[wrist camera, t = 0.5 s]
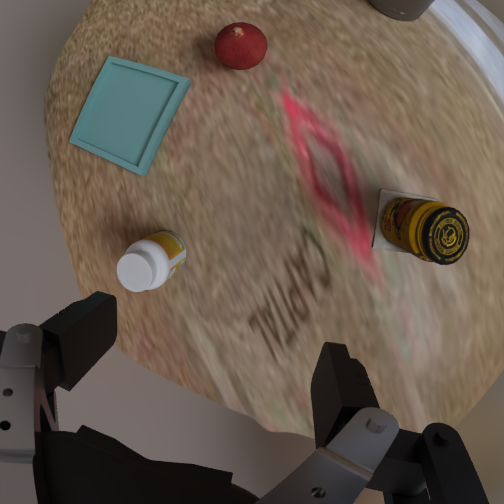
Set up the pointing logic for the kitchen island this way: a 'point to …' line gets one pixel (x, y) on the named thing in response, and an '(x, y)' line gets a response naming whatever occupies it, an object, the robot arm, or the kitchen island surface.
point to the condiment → (420, 227)
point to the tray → (129, 113)
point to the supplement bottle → (151, 261)
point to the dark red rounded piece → (240, 46)
